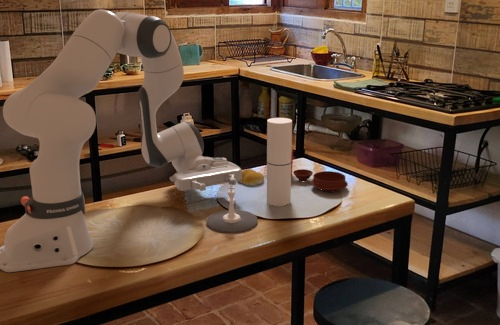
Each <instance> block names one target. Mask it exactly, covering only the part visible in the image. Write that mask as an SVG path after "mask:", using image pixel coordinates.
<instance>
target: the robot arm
mask: <svg viewBox="0 0 500 325" xmlns="http://www.w3.org/2000/svg"><path fill="white" fill-rule="evenodd" d="M117 54H121V55H126V56H128V57H132V58H133V57H134V58H140V61H141V66H142V70H143V75H144V76H143V80H142V81H143V82H142V85H141V86H140V88H139V90H138V91H137V104H138V105H137V106H138V116H139V118H138V119H139V127H140V136H141V137H140V138H141V139H140V148H141V155H142V157H143V159H144V161H145V163H146V165H147V164H148V165H149V166H150V167H154V168H157V169H160V168H162V167H164V166H166V165H168V164H169V163H170V162H171V163H172V166H173V167H174V169H175V170H176V172H175V173H174V174H173V175H172V176H169V180H170V181H171V182H172V183H174V186H175V187H176V189H177V190H178V191H180V192H184V191H185V192H186V191H190V190H199V191H200V192H203V191H206V190H207V187H212V186H218V185H223V184H224V185H225V184H228V185H229V186H230V185H232V186H235V185H237V182H239V181H240V180H241V179H242V171H243V169H242V168H241V167H240V166H239V165H237V164H236V163H233V162H231V161H228V160H227V158H226V157H210V156H203V153H204V149H205V145H204V144H205V143H204V139H203V137H202V133H201V132H200V130H199V129H198V128H197V127H196V126H195V125H193V124H192V123H190V122H189V121H182V122H180V123H177V124H175V125H173V126H171V127H168V128H165V129H164V130H161V131H159V132H158V130H157V119H156V118H157V116H156V115H157V111H158V109H159V108H160V107H161V106H162V104H163V103H164V102H166V101H167V100H168V98H170V97H171V96H172V95H173V94H175V93H176V92H177V91H178V90H179V88H180V87H181V85H182V83H183V81H184V77H185V70H184V65H183V61H182V57H181V53H180V49H179V47H178V44H177V40H176V39H175V37H174V35H173V33H172V31H171V29H170V26H169V25H168V24H167V22H166V21H165V20H163V19H162V18H160V17H157V16H154V15H145V14H142V13H141V14H140V13H137V12H132V11H131V12H129V11H126V12H125V11H122V12H121V11H120V12H118V11H110V10H107V9H101V8H99V9H95V10H93V11H92V12H91V13H90V14H89V15H87V16H86V17H85V18H84V19H83V21H82V22H81V23H80V24H79V25H78V26H77V28H76V29H75V30H74V31H73V33H72V34H71V36H70V37H69V38H68V40H67V41H66V43H65V45H64V46H63V48H62V49H61V50H60V51H59V53H58V55H57V56H56V58H55V59H54V60H53V62H52V63H51V64H50V65H49V66H48V67H47V68H46V69H45V70H44V71H43V72H41V74H39V75H38V76H37V77H36V78H35V79H33V80H32V82H30V83H29V84H28V85H26V86H25V87H23V88H22V89H20V90H18V91H15V92H13V93H12V94H10V95H9V96H8V97H7V98H6V100H5V102H4V103H3V107H2V115H3V119H4V120H3V121H5V123H6V124H7V125H8V127H10V128H11V129H13V130H14V131H16V132H18V133H19V134H21V135H23V136H27V137H31V138H35V139H37V140H38V141H39V149H38V154H37V155H38V156H37V158H35V159H34V160H33V161H32V162H31V163H30V166H29V177H30V184H31V192H32V196H31V197H29V196H28V195H27V196H26V195H24V196H22V197H21V198H20V202H21V205H22V206H23V207H24V210H25V213H24V215H22V216H21V217H20V218H19V219H18V220H17V221H16V222H14V223H13V224H12V225H11V226H9V228H8V229H7V231H6V232H5V235H4V236H5V237H4V244H3V245H1V246H0V270H1V271H2V272H6V273H14V272H21V271H29V270H30V271H31V270H37V269H44V268H51V267H60V266H69V265H73V264H75V263H76V262H78V260H79V259H80V258H81V257H83V256H84V255H86V254H88V253H89V252H90V251H91V250H92V249H93V247H94V241H93V239H92V237H91V234H90V232H89V228H88V225H87V221H86V217H85V214H86V203H85V196H84V192H83V191H82V186H81V175H80V174H81V173H80V159H81V153H82V150H83V147H84V144H85V143H86V142H87V141H88V140H90V138H91V137H93V136H92V135H93V134H94V132H95V129H96V125H97V117H96V113H95V111H94V108H93V107H92V106H91V105H90V104H88V103H87V102H85V101H83V100H81V99H79V98H82V96H84V95H86V94H89V93H90V92H92V91H94V90H95V89H96V88H97V87H98V85H99V84H100V82H101V80H102V78H103V77H104V75H105V74H106V72H107V71H108V69H109V67H110V65H111V64H112V63H113V60H114V59H115V56H116V55H117Z"/></svg>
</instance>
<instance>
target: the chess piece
mask: <svg viewBox="0 0 500 325" xmlns="http://www.w3.org/2000/svg"><path fill="white" fill-rule="evenodd" d="M227 189H228V191H227V195H228V199H227V202H229V207H228V210H229V213H227V214H226V215H224V216H223V221H224V222H227V223H235V222H238V221H240V220H241V218H240V216H239V215H238V214H236V213H235V212H234V210H235V206H234V202H236V199H235V198H234V197H235V194H236V191H234V190H235V186H233V185H230V184H229V186H228V187H227Z"/></svg>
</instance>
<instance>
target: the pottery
mask: <svg viewBox="0 0 500 325" xmlns="http://www.w3.org/2000/svg"><path fill="white" fill-rule="evenodd" d="M292 173H293V175H294V176H295V177H296V179H298V180H299V181H298V182H300V181H307V182H308V180H309V179H310V178H311V177H312V176H313V177H312V178H313V179H311V181H310V185H311V186H312V187H314V188H316V189H318V190H320V189H322V190H324V191H323V192H325V191H335V192H337V191H339V190H342V189H345V188H347V187H348V184H349V183H348V181H347V180H346V175H345V174H343V173H340V172H337V171H333V170H332V171H330V170H328V171H327V170H326V171H325V170H324V171H318V172H316V173H314V172H313V171H312V170H310V169H296V170H294V171H292ZM322 190H321V191H322Z"/></svg>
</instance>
